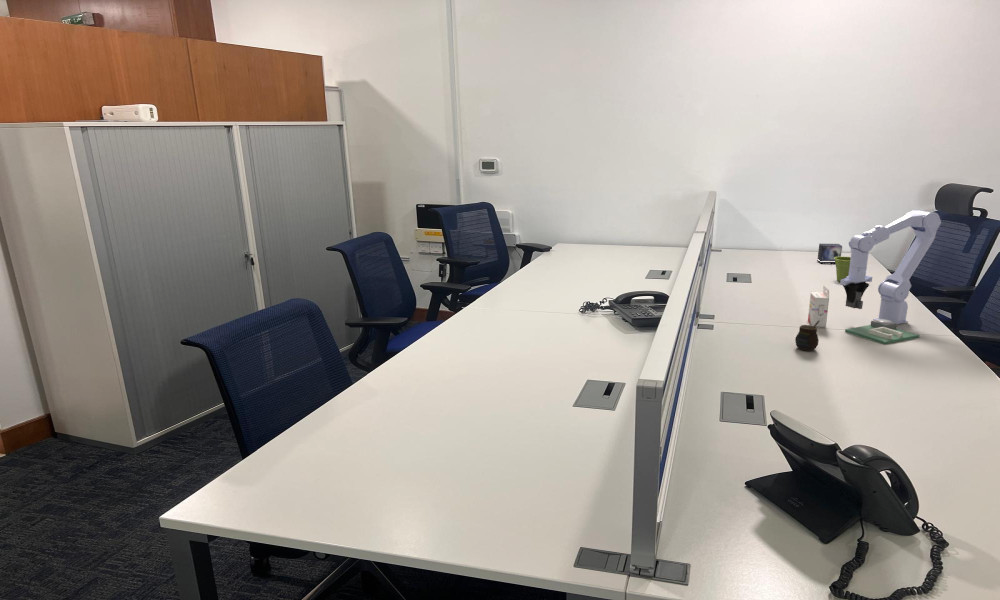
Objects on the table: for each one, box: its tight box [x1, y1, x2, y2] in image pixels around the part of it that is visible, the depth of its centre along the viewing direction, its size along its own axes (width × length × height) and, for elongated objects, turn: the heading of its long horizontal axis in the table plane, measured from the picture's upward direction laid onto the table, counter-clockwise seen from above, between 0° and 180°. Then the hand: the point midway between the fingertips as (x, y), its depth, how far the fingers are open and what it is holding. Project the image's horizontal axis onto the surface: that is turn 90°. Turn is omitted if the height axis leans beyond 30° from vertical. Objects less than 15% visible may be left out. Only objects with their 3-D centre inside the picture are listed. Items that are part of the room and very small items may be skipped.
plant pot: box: [834, 256, 851, 282], centre depth 318 cm, size 12×12×11 cm
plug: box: [845, 291, 864, 310], centre depth 248 cm, size 3×6×6 cm, turn 22°
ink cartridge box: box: [807, 285, 830, 328], centre depth 250 cm, size 9×5×15 cm, turn 168°
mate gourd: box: [794, 321, 819, 352], centre depth 222 cm, size 7×8×10 cm
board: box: [844, 319, 920, 345], centre depth 237 cm, size 18×16×3 cm
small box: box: [816, 243, 843, 264], centre depth 360 cm, size 11×6×10 cm, turn 81°
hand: (853, 301), depth 249 cm, fingers closed on plug, 3 cm apart
